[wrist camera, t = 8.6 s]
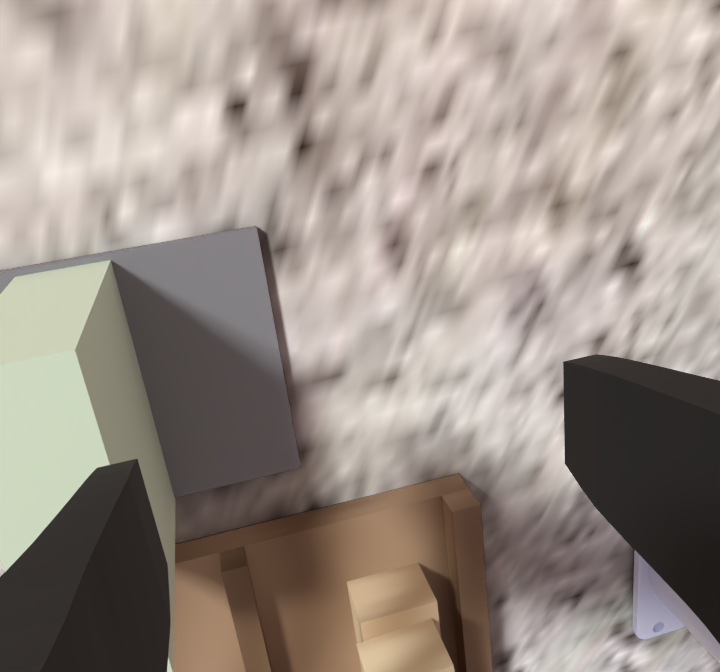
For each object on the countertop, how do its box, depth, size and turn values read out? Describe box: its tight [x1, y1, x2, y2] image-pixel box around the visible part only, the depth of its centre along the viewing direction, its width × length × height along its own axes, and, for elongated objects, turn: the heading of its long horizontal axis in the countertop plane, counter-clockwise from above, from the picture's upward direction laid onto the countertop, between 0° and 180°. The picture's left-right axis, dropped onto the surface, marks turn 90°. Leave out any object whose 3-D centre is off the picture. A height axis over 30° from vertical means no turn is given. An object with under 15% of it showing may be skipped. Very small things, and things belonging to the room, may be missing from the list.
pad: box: [0, 226, 301, 498], centre depth 20 cm, size 10×8×1 cm
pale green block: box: [0, 260, 176, 672], centre depth 17 cm, size 2×8×7 cm, turn 7°
